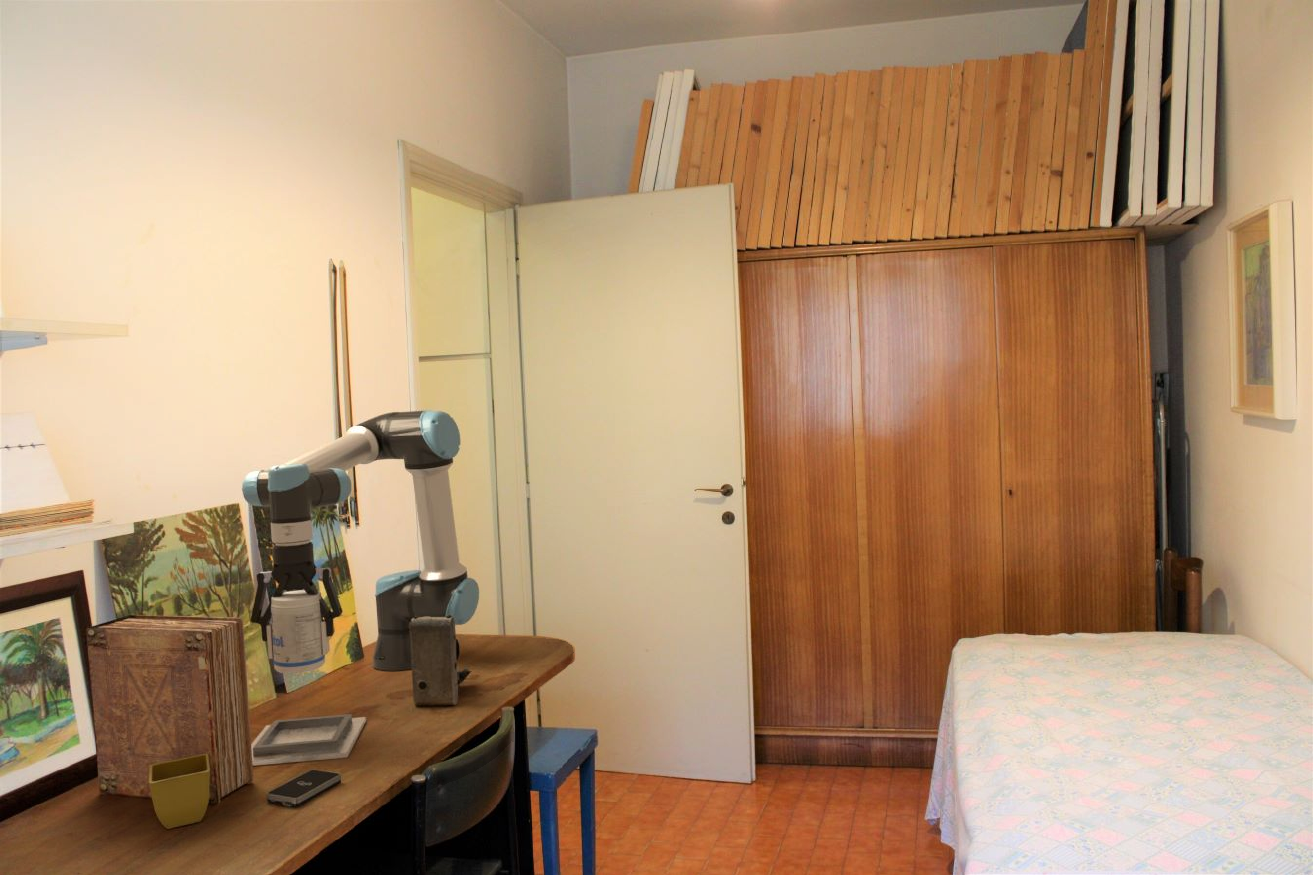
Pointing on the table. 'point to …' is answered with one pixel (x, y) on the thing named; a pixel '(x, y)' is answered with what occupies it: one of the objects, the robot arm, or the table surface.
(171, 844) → the table surface
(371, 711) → the table surface
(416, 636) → the vintage camera
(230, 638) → the book
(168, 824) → the flower pot
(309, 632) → the supplement tub
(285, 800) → the external hard drive
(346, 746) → the mounting plate
